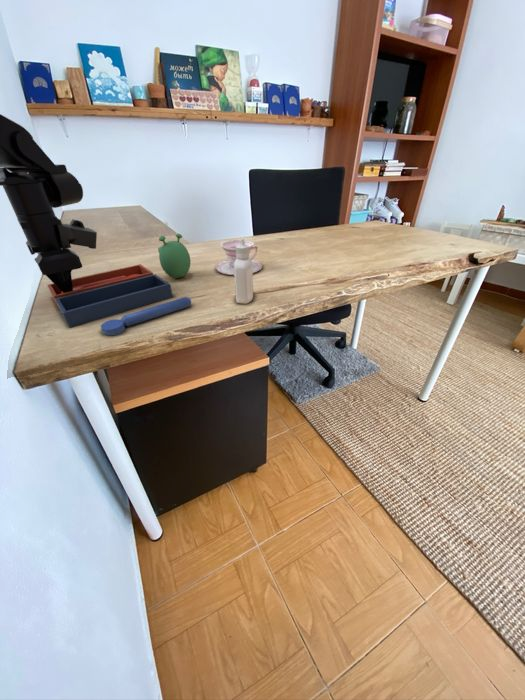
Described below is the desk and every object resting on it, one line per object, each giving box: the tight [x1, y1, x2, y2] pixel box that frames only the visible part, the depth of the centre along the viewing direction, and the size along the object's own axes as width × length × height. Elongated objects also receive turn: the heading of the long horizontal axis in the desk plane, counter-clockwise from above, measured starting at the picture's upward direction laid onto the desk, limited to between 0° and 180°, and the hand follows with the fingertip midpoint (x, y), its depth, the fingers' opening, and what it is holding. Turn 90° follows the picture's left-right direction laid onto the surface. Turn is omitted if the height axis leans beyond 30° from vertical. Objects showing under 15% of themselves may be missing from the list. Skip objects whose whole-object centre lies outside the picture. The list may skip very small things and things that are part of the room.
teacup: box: [215, 239, 263, 276], centre depth 75 cm, size 12×12×6 cm
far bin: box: [46, 263, 154, 309], centre depth 64 cm, size 20×8×3 cm, turn 129°
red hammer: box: [61, 274, 141, 294], centre depth 64 cm, size 17×4×2 cm, turn 129°
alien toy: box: [157, 233, 191, 279], centre depth 69 cm, size 7×8×10 cm
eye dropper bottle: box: [233, 237, 254, 305], centre depth 58 cm, size 4×6×12 cm
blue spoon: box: [100, 296, 192, 336], centre depth 54 cm, size 17×4×2 cm, turn 129°
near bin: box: [54, 273, 174, 328], centre depth 59 cm, size 20×8×3 cm, turn 129°
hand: (69, 294), depth 61 cm, fingers open, 3 cm apart
